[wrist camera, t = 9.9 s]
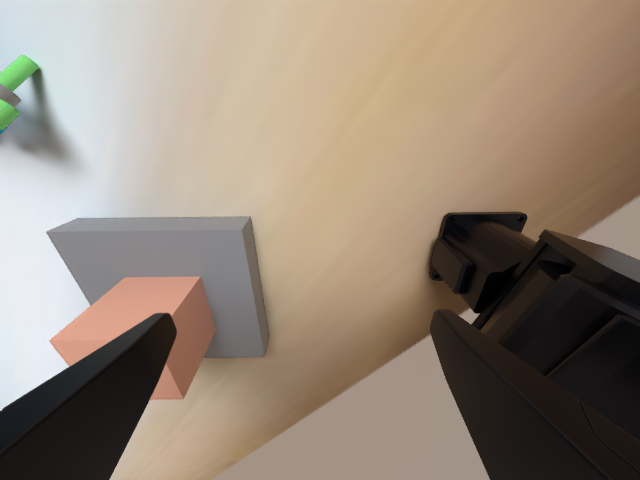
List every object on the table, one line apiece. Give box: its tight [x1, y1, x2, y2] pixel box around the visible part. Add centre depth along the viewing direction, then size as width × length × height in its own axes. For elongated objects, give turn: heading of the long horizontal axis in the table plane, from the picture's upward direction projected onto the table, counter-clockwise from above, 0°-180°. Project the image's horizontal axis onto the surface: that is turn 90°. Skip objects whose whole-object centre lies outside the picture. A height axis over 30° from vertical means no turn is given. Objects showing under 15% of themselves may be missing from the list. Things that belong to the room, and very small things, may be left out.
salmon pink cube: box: [49, 276, 216, 400], centre depth 17 cm, size 6×6×6 cm
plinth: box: [46, 217, 269, 358], centre depth 21 cm, size 14×14×2 cm
